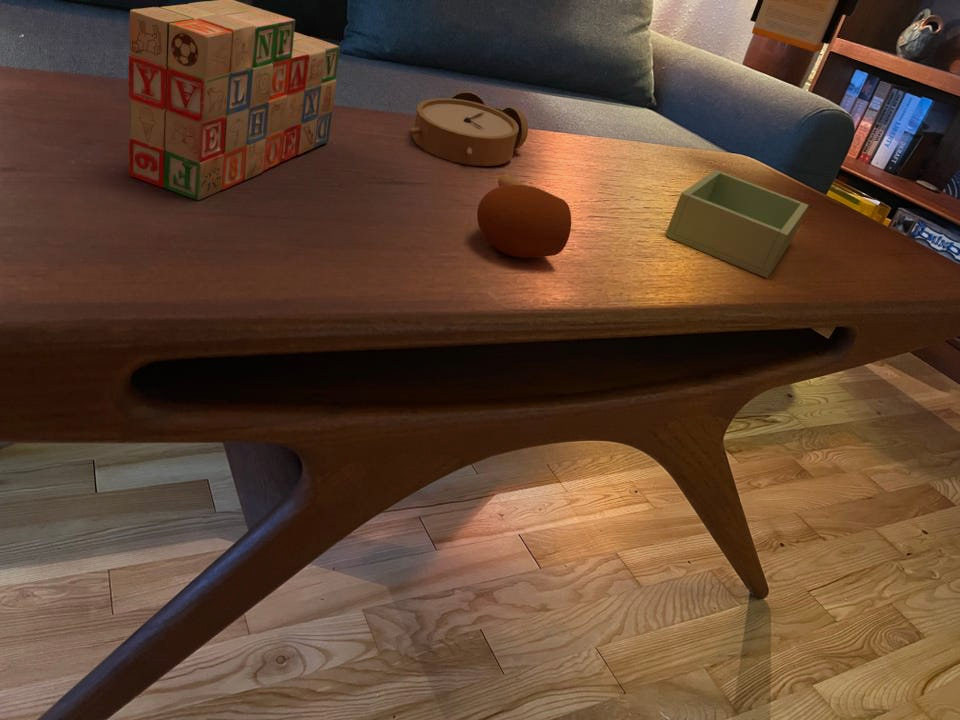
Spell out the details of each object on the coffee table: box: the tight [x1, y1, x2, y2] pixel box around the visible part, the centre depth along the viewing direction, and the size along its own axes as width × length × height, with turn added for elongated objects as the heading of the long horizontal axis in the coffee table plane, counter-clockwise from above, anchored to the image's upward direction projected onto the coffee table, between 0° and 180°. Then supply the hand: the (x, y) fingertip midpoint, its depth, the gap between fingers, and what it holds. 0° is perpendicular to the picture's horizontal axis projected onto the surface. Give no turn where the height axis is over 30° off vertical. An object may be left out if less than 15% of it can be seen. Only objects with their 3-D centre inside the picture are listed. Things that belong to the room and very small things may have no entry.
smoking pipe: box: [476, 173, 572, 259], centre depth 69 cm, size 7×18×6 cm, turn 7°
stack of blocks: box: [127, 0, 341, 201], centre depth 65 cm, size 21×6×12 cm, turn 162°
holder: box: [664, 169, 809, 279], centre depth 80 cm, size 11×14×5 cm
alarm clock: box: [408, 91, 529, 167], centre depth 86 cm, size 11×5×15 cm
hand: (790, 31), depth 96 cm, fingers closed on supplement box, 8 cm apart
